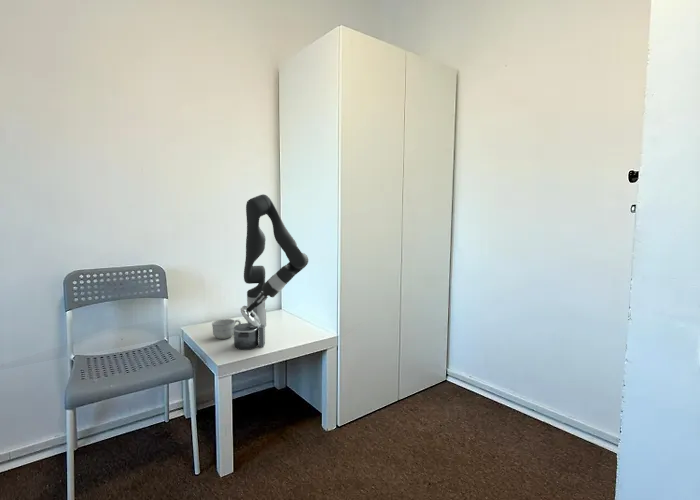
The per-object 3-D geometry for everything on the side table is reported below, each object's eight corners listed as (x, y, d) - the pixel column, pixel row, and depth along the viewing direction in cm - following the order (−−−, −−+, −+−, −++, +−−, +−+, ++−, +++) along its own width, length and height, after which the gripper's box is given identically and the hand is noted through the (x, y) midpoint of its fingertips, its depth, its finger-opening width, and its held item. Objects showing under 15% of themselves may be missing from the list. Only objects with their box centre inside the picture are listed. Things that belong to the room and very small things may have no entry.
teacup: (213, 342, 192) (213, 325, 191) (211, 334, 202) (211, 319, 201) (243, 338, 198) (242, 322, 197) (239, 331, 208) (239, 316, 207)
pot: (237, 339, 196) (237, 321, 194) (266, 339, 196) (266, 321, 195) (230, 351, 181) (230, 331, 180) (261, 351, 182) (261, 331, 181)
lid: (243, 304, 192) (246, 301, 192) (260, 322, 194) (263, 319, 194) (238, 311, 180) (241, 308, 180) (256, 330, 182) (259, 327, 182)
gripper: (270, 276, 192) (245, 301, 193) (266, 282, 179) (239, 309, 180) (281, 287, 193) (256, 312, 194) (278, 294, 180) (251, 320, 181)
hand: (248, 310), depth 187 cm, fingers closed
